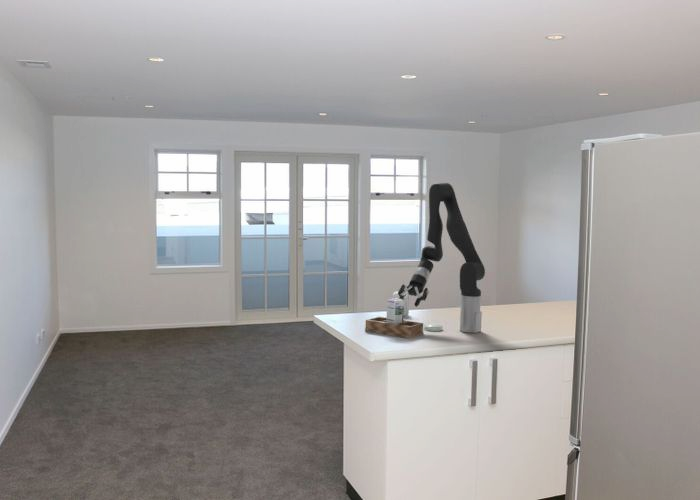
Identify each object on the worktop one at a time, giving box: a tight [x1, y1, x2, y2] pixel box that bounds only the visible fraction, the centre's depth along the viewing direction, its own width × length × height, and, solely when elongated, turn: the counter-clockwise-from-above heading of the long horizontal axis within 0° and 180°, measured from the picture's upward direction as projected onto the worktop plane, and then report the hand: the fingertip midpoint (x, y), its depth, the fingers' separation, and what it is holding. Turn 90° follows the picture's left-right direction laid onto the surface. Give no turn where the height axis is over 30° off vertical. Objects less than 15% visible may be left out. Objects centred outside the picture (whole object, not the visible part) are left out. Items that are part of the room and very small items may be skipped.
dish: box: [423, 323, 443, 332], centre depth 324 cm, size 9×9×2 cm
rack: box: [364, 316, 424, 339], centre depth 314 cm, size 24×13×5 cm, turn 54°
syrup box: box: [386, 298, 404, 324], centre depth 314 cm, size 6×6×14 cm
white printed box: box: [391, 290, 410, 316], centre depth 362 cm, size 10×4×12 cm, turn 39°
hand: (407, 304), depth 323 cm, fingers open, 8 cm apart
